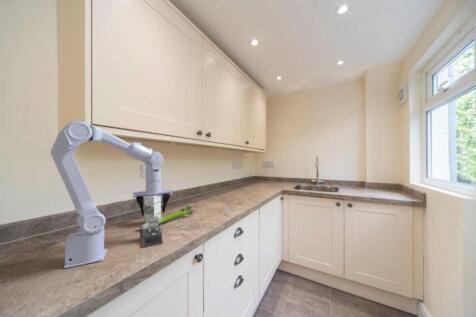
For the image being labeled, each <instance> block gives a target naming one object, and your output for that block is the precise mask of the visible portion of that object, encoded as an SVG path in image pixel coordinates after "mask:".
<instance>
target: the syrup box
mask: <svg viewBox="0 0 476 317" xmlns="http://www.w3.org/2000/svg"><path fill="white" fill-rule="evenodd" d="M153 195H155V194H153ZM143 202H144V224H146V223H148V217H154V216H158V219H159V218H162V208H161V207H162V195H160V196H149V197H143Z"/></svg>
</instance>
